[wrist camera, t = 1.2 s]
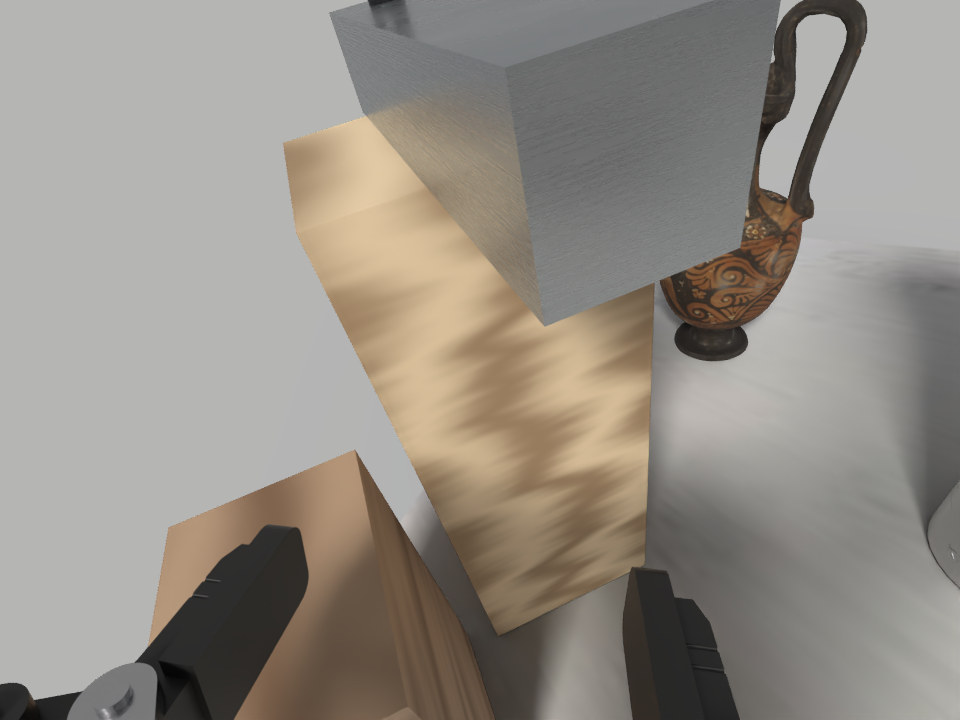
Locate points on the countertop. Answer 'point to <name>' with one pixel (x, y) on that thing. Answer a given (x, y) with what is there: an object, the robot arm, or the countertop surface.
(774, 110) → the vase
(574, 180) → the tin
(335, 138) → the oak block
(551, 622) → the countertop surface
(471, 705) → the walnut block
